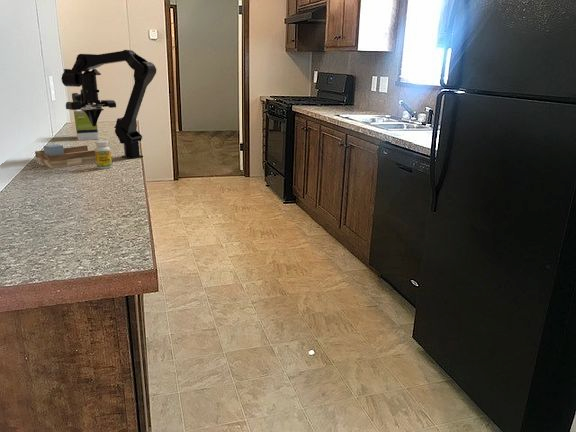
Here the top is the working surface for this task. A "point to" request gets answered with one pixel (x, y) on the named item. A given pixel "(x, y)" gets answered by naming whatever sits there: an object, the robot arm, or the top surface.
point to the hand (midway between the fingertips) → (93, 126)
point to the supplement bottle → (103, 155)
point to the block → (54, 149)
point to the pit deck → (67, 157)
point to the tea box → (84, 126)
